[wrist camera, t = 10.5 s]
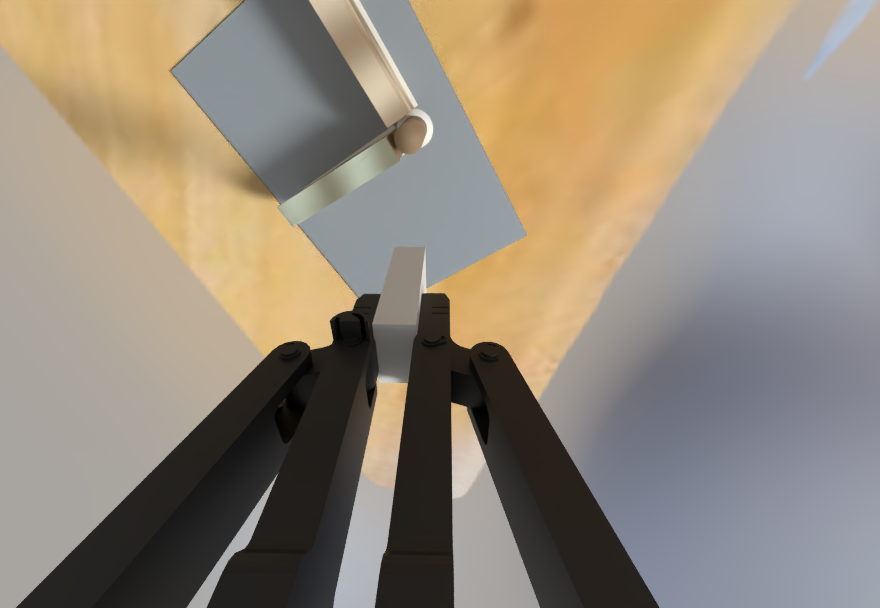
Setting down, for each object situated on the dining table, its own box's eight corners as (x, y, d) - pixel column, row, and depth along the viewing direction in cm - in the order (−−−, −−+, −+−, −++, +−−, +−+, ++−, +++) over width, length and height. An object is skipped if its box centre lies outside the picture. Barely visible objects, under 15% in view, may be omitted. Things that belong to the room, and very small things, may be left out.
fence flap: (395, 127, 36) (385, 137, 30) (407, 148, 37) (399, 161, 31) (302, 187, 40) (276, 207, 34) (315, 205, 41) (293, 227, 35)
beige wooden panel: (295, -48, 30) (254, -82, 24) (318, -69, 29) (281, -111, 23) (411, 146, 38) (404, 160, 31) (431, 133, 37) (428, 144, 31)
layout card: (172, 71, 35) (170, 71, 34) (356, -103, 28) (355, -105, 28) (374, 314, 49) (373, 316, 48) (526, 234, 43) (527, 235, 42)
